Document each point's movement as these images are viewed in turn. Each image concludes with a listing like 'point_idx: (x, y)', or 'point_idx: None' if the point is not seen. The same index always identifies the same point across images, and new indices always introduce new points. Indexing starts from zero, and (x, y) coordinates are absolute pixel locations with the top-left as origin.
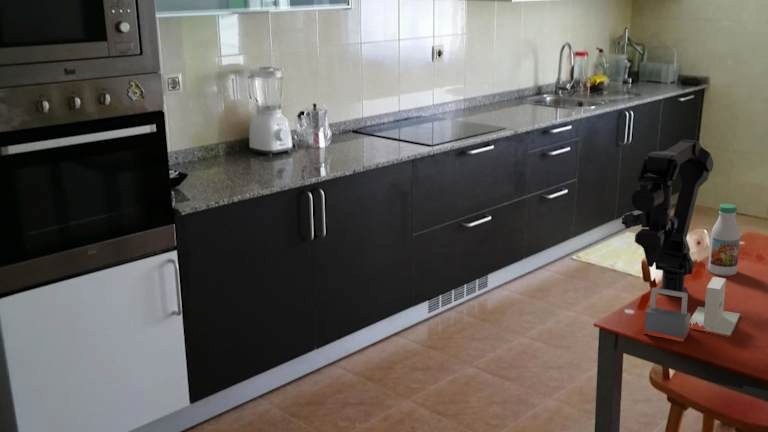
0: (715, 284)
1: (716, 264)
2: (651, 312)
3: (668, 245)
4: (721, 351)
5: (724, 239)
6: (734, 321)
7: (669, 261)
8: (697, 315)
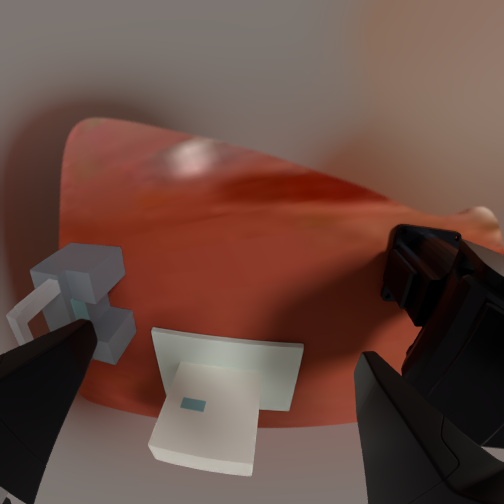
0: (185, 460)
1: None
2: (34, 284)
3: (489, 385)
4: (103, 373)
5: None
6: None
7: (426, 343)
8: (236, 350)
